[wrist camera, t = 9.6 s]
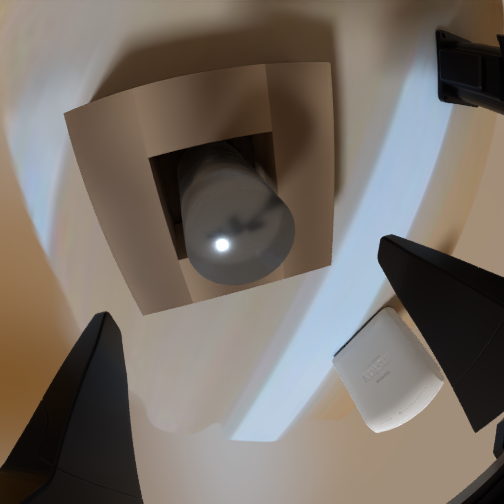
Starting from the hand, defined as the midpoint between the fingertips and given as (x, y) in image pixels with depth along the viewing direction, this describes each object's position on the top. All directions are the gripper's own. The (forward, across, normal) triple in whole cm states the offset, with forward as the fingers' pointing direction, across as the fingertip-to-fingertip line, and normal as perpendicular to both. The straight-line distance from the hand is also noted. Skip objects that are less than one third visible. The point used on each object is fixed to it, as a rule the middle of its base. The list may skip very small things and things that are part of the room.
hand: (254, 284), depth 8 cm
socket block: (+10, 0, 0) cm, 10 cm away
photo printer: (+10, -14, +23) cm, 29 cm away
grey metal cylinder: (+10, 0, 0) cm, 10 cm away
